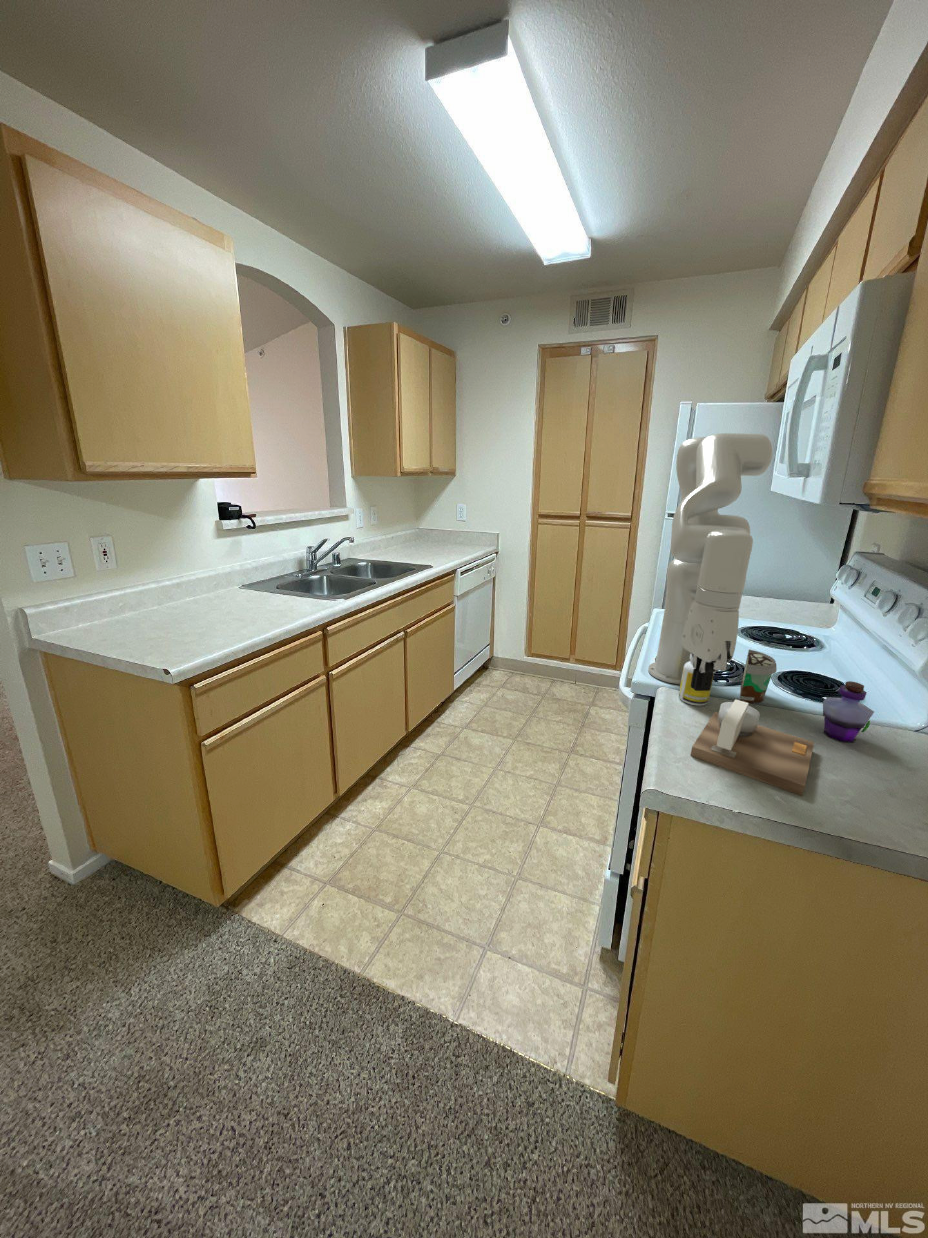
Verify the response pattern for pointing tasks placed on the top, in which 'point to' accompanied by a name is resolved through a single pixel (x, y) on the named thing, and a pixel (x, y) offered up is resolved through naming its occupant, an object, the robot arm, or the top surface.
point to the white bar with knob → (735, 722)
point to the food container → (756, 676)
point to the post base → (759, 755)
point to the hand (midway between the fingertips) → (700, 688)
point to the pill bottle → (689, 693)
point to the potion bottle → (846, 713)
